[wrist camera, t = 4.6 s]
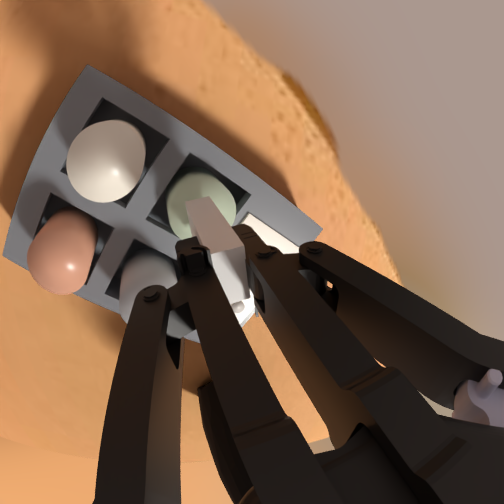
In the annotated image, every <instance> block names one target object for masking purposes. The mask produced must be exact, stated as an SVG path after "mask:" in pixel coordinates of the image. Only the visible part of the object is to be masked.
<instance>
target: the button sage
mask: <svg viewBox="0 0 504 504" xmlns="http://www.w3.org/2000/svg"><path fill="white" fill-rule="evenodd" d="M207 196H210V198H211V199H212V201H213V202H214V203H215V205H216V206H217V208H218V209H219V210H220V212H221V213H222V215H223V216H224V218H225V219H226V220H227V222H228V223H229V225H230V226H232V225H233V223H234V220H235V216H236V204H235V201H234V198H233V196H232V194H231V193H230V191H229V190H228V189H227V188H226V187H225V186H224V185H223V184H222V183H221V182H220V181H219V180H218V179H217V178H216V177H215V176H214V175H213V174H212V173H211V172H210V171H209V170H207V169H205V168H202V167H187V168H184V169H182V170H180V171H178V172H177V173H175V174H174V176H173V177H172V179H171V180H170V182H169V183H168V185H167V186H166V190H165V199H166V205H167V211H168V217H169V222H170V225H171V228H172V230H173V231H174V233H175V234H176V235H177V236H178V237H179V238H180V239H182V240H183V239H187V238H190V237H192V234H191V229H190V225H189V220H188V215H187V210H186V205H185V202H186V201H190V200H194V199H199V198H203V197H207Z"/></svg>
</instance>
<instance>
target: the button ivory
mask: <svg viewBox="0 0 504 504" xmlns="http://www.w3.org/2000/svg"><path fill="white" fill-rule="evenodd" d="M145 155H146V142H145V138H144V136H143V134H142V132H141V131H140V129H139V128H138V127H137V126H136V125H134V124H133V123H131V122H129V121H126V120H122V119H114V120H108V121H103V122H99V123H95V124H93V125H90V126H89V127H87V128H85V129H84V130H83V131H81V132H80V133H79V134H78V135H77V137H76V138H75V139H74V141H73V142H72V144H71V146H70V148H69V151H68V154H67V161H66V168H67V174H68V178H69V180H70V182H71V184H72V186H73V187H74V189H75V190H76V191H77V192H78V193H79V194H80V195H81V196H83V197H84V198H86V199H88V200H91V201H94V202H101V203H105V202H112V201H115V200H118V199H120V198H122V197H124V196H125V195H127V194H128V193H129V192H130V191H131V190H132V189H133V188H134V187H135V186H136V184H137V183H138V181H139V179H140V177H141V174H142V171H143V167H144V161H145Z"/></svg>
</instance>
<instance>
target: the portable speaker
mask: <svg viewBox="0 0 504 504" xmlns="http://www.w3.org/2000/svg"><path fill="white" fill-rule="evenodd" d="M198 397H199V404H200V411H201V417H202V424H203V428H204V432H205V435H206V438H207V441H208V444H209V447H210V450H211V453H212V456H213V459H214V462H215V465H216V468H217V471H218V473H219V476H220V478H221V480H222V482H223V484H224V486H225V488H226V490H227V492H228V494H229V496H230V498H231V500H232V501H233V503H234V504H239V503H240V501H241V499H242V498H243V497H244V495H245V494H246V493H247V492H248V491H249V490H250V489H251V488H252V487H253V484H252V482H251V480H250V477H249V475H248V473H247V470H246V468H245V466H244V463H243V461H242V459H241V456H240V454H239V452H238V449H237V447H236V444H235V441H234V439H233V435H232V433H231V430H230V427H229V425H228V422H227V420H226V417H225V414H224V412H223V409H222V406H221V403H220V401H219V398H218V395H217V392H216V389H215V386H214V384H213V381H212V382H211V383H209V384H207V385H206V386H205V387H200V388H198Z"/></svg>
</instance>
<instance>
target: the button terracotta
mask: <svg viewBox="0 0 504 504" xmlns="http://www.w3.org/2000/svg"><path fill="white" fill-rule="evenodd" d="M97 242H98V229H97V226H96V223H95V221H94V220H93V218H92V217H91V216H90V215H89V214H88V213H86V212H84V211H83V210H81V209H79V208H77V207H73V206H68V207H63V208H61V209H59V210H57V211H56V212H55V213H54V214H53V215H52V216H51V217H50V218H49V220H48V221H47V222H46V224H45V225H44V226H43V227H42V229H41V230H40V231H39V233H38V234H37V236H36V237H35V238H34V240H33V241H32V243H31V244H30V246H29V249H28V252H27V264H28V268H29V271H30V273H31V275H32V277H33V278H34V280H35V281H36V282H37V283H38V284H39V285H40V286H41V287H42V288H44V289H45V290H47V291H49V292H51V293H54V294H60V295H66V294H71V293H74V292H76V291H77V290H79V289H80V288H81V287H82V286H83V285H84V283H85V281H86V279H87V276H88V273H89V269H90V266H91V262H92V259H93V255H94V252H95V249H96V246H97Z"/></svg>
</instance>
